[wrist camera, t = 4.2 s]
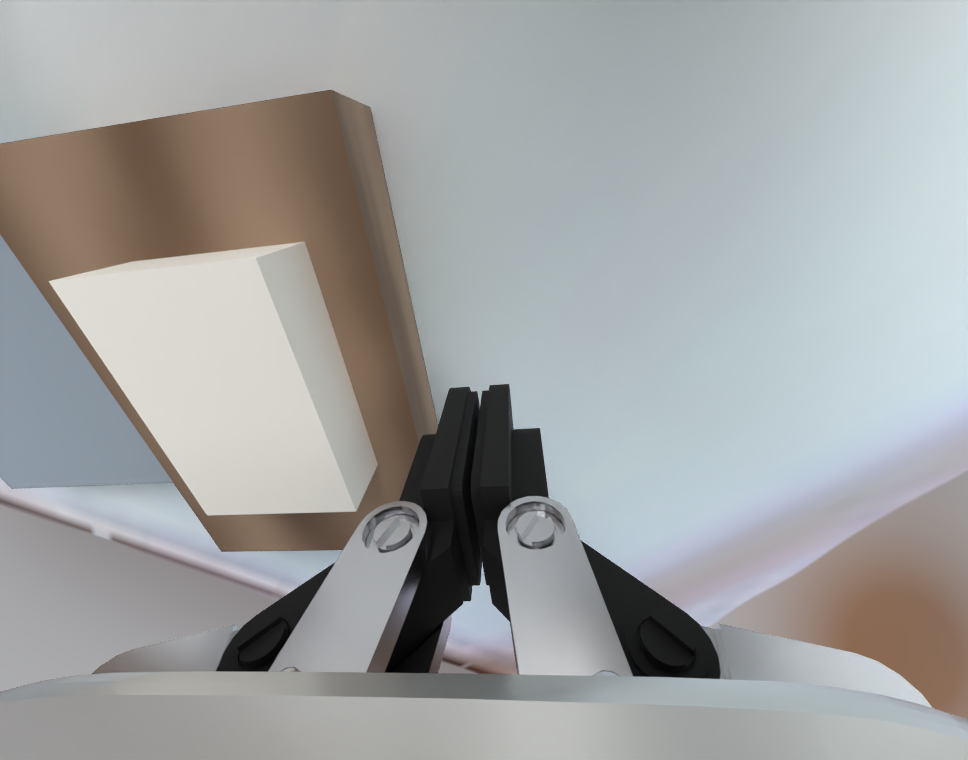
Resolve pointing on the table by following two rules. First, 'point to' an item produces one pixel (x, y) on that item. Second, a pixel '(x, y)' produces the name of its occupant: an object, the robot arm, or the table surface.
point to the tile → (233, 375)
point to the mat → (57, 401)
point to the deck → (239, 225)
